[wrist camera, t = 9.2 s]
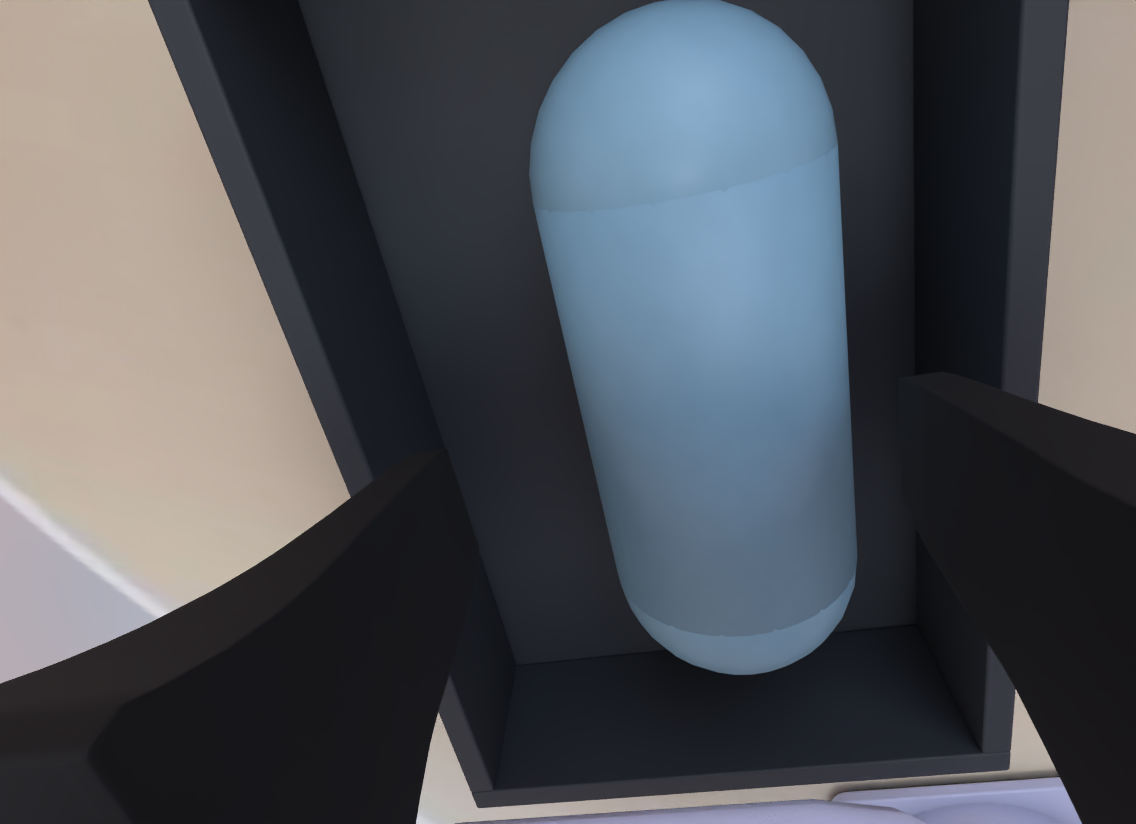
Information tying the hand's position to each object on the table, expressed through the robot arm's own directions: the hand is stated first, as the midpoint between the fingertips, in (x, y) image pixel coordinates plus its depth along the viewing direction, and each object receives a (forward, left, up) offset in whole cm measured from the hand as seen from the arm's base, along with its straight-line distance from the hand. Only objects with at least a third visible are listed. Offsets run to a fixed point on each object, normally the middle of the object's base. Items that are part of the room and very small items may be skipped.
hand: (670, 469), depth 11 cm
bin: (0, 0, -6) cm, 6 cm away
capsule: (0, 0, -5) cm, 5 cm away
